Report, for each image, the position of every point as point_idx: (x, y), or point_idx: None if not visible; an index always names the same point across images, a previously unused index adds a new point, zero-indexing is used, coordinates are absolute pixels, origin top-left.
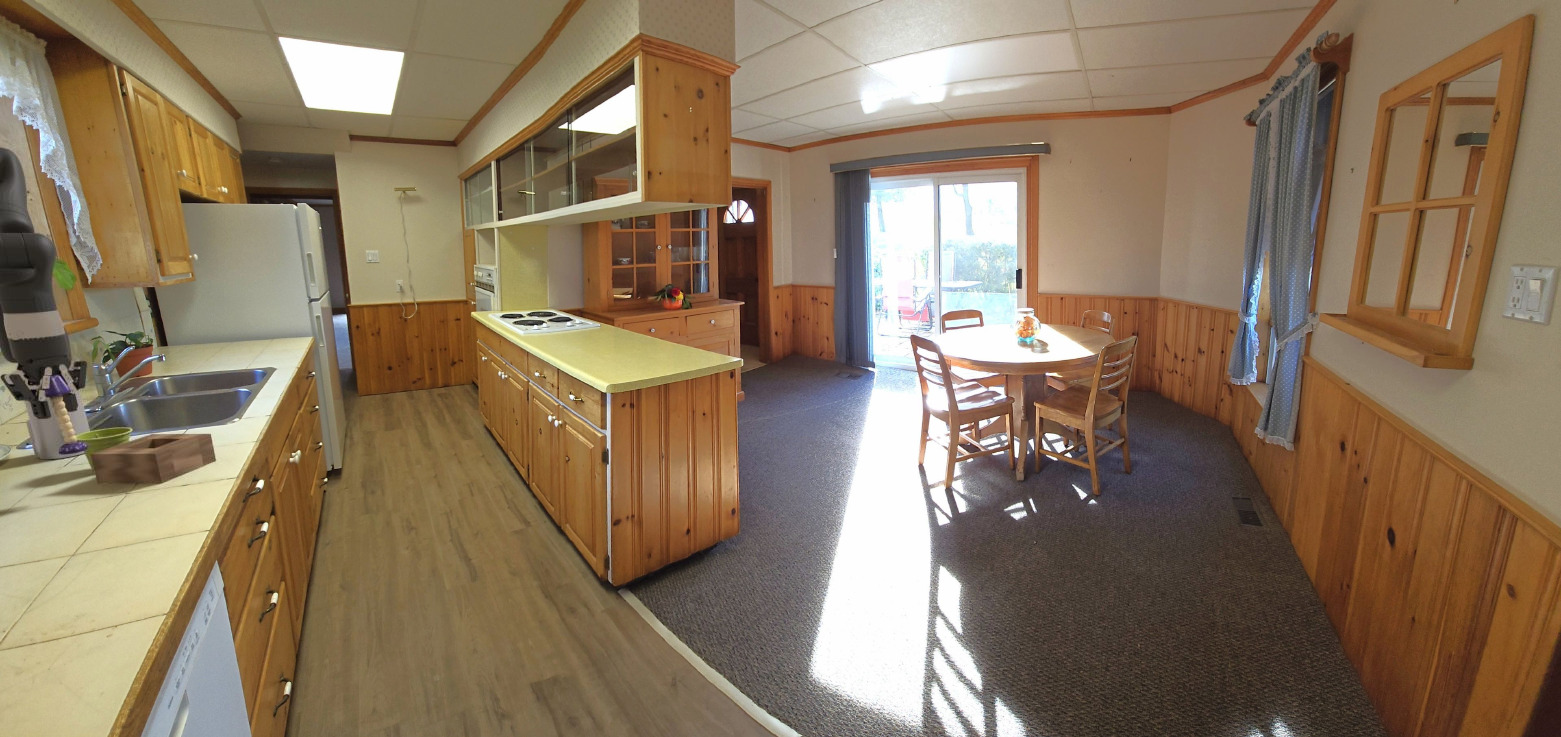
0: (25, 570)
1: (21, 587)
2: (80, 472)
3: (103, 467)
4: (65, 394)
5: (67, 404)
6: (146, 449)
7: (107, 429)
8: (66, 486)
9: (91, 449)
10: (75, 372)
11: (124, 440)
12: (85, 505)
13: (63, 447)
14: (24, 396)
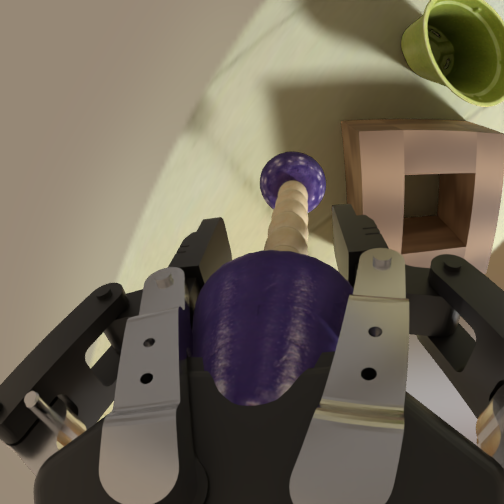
0: (104, 339)
1: (96, 358)
2: (394, 10)
3: (351, 150)
4: (354, 285)
5: (338, 250)
6: (394, 243)
7: (501, 24)
8: (318, 65)
9: (421, 48)
10: (484, 392)
11: (472, 95)
12: (236, 223)
13: (267, 190)
14: (107, 355)
